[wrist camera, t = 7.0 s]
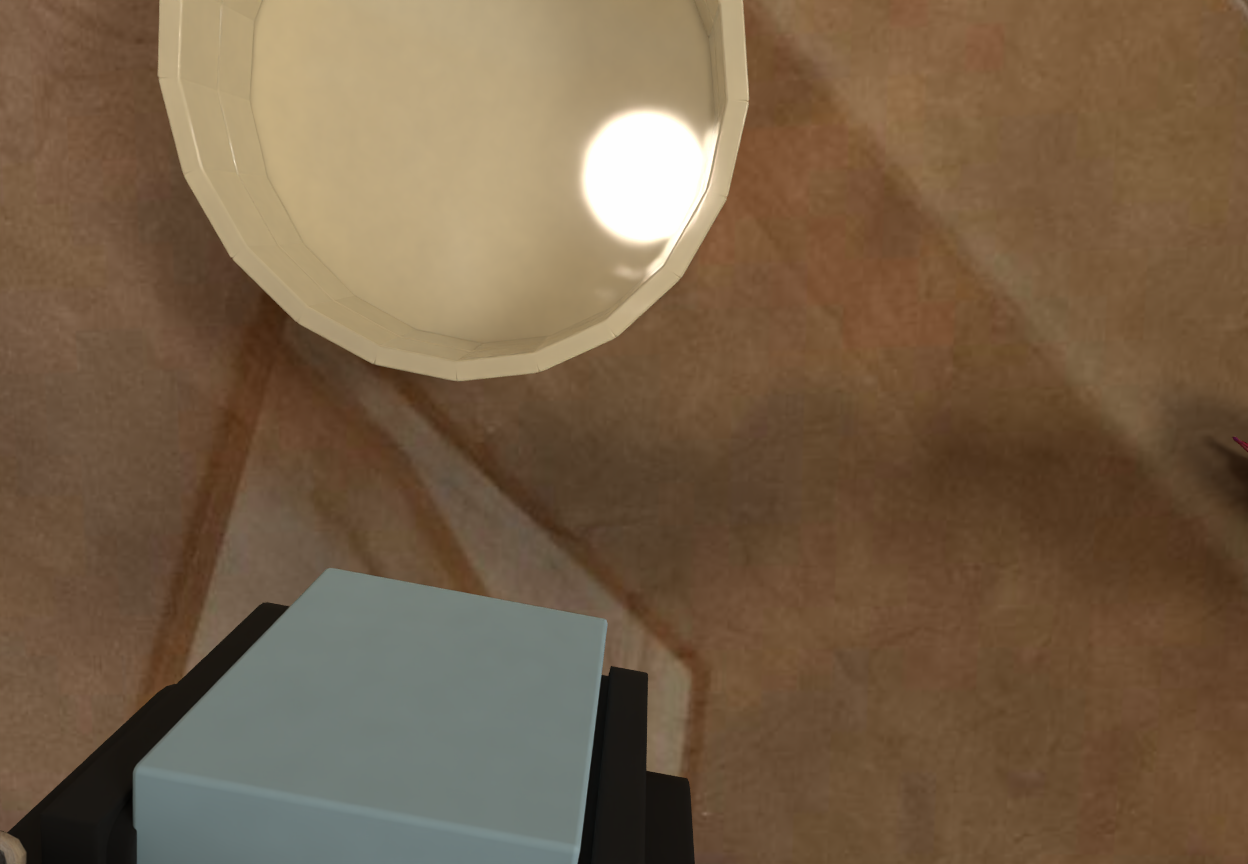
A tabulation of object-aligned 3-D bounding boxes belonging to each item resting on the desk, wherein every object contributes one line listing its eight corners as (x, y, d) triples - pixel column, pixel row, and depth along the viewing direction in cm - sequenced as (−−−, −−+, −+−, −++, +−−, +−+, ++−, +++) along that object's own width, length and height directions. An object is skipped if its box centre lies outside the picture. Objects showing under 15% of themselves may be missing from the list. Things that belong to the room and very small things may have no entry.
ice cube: (308, 797, 11) (130, 1090, 7) (327, 565, 10) (129, 768, 6) (563, 843, 11) (515, 1159, 7) (609, 617, 10) (580, 850, 6)
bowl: (229, 305, 25) (150, 319, 21) (257, -231, 20) (166, -338, 17) (671, 396, 25) (675, 427, 21) (786, -115, 21) (817, -194, 17)
